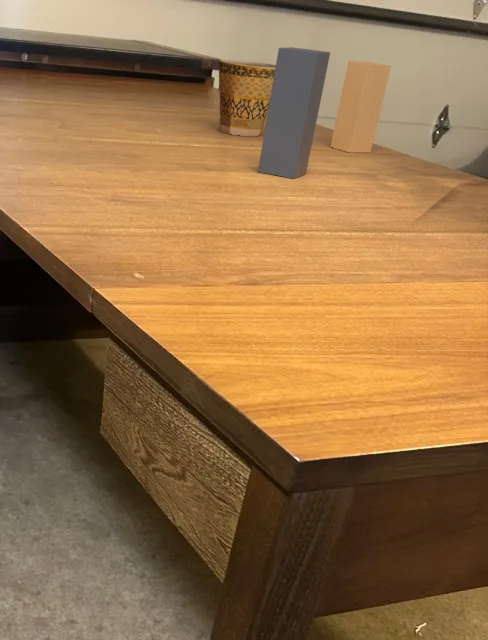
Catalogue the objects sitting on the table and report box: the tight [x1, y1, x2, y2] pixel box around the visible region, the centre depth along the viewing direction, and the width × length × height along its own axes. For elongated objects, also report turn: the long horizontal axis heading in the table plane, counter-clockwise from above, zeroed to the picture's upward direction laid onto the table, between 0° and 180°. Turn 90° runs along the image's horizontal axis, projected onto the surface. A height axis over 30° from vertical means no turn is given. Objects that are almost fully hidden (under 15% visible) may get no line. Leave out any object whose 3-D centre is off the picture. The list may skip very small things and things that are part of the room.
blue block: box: [257, 47, 331, 180], centre depth 103 cm, size 5×5×14 cm
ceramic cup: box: [218, 59, 276, 137], centre depth 133 cm, size 13×10×10 cm
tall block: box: [329, 60, 392, 154], centre depth 126 cm, size 4×4×12 cm
